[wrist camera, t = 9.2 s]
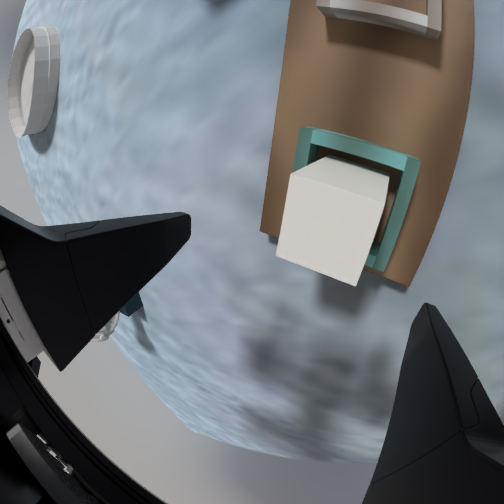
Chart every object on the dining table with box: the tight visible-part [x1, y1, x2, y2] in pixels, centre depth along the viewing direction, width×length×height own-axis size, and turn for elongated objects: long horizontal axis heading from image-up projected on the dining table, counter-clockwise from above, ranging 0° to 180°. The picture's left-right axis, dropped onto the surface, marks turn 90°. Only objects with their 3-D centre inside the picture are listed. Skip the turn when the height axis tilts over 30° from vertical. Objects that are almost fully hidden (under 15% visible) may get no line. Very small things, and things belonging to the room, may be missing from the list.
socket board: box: [260, 0, 474, 287], centre depth 13 cm, size 12×25×4 cm, turn 173°
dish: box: [8, 26, 60, 137], centre depth 30 cm, size 22×22×5 cm
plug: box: [276, 155, 390, 287], centre depth 14 cm, size 4×4×7 cm
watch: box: [91, 292, 143, 342], centre depth 36 cm, size 6×8×11 cm
